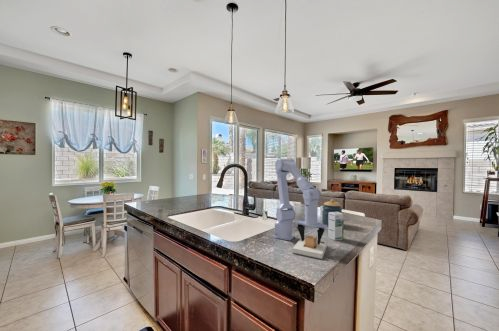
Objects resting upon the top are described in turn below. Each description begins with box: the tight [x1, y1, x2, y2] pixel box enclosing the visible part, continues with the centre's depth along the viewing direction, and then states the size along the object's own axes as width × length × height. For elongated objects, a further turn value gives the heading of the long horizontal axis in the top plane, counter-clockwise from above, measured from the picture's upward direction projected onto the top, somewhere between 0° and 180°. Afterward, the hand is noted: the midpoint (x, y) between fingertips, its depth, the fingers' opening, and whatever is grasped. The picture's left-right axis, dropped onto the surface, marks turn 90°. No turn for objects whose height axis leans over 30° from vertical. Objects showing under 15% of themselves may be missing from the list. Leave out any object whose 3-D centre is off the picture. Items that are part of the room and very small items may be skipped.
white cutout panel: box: [292, 237, 328, 260], centre depth 102 cm, size 13×16×3 cm
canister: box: [321, 198, 343, 227], centre depth 145 cm, size 13×13×18 cm
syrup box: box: [327, 212, 345, 241], centre depth 118 cm, size 6×6×14 cm
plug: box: [304, 234, 318, 249], centre depth 102 cm, size 4×6×6 cm
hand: (310, 242), depth 102 cm, fingers open, 7 cm apart
